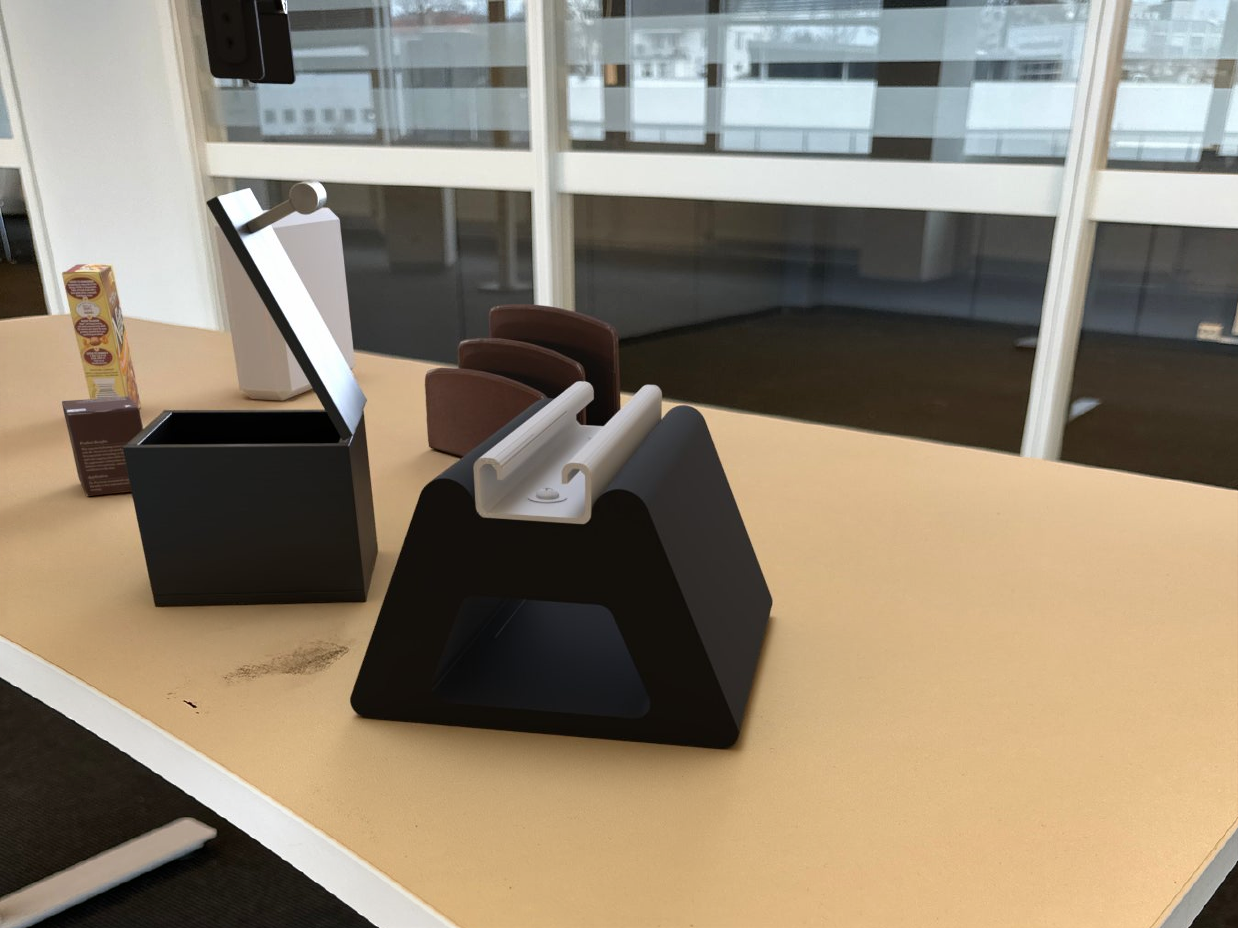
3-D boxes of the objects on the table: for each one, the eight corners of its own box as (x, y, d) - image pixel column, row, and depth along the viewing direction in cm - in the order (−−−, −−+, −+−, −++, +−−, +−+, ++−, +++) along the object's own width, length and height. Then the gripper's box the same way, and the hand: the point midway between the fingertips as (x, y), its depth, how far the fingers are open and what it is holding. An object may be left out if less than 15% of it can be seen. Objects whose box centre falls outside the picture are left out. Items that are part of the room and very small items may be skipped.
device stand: (771, 615, 87) (787, 391, 79) (737, 750, 68) (753, 473, 60) (466, 593, 90) (451, 374, 82) (352, 716, 71) (318, 447, 63)
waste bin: (154, 606, 86) (122, 447, 80) (190, 553, 97) (163, 409, 91) (366, 601, 88) (348, 445, 82) (378, 550, 98) (363, 408, 93)
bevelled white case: (304, 371, 168) (283, 205, 158) (359, 374, 167) (341, 207, 156) (228, 398, 151) (199, 214, 140) (289, 402, 149) (264, 216, 139)
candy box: (132, 421, 138) (102, 270, 130) (92, 422, 137) (60, 270, 129) (142, 406, 146) (114, 262, 138) (104, 407, 145) (74, 262, 137)
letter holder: (501, 436, 136) (494, 295, 128) (623, 468, 124) (624, 316, 116) (426, 449, 129) (415, 302, 122) (548, 484, 118) (543, 324, 110)
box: (147, 476, 117) (131, 395, 113) (156, 491, 113) (140, 407, 109) (78, 482, 115) (60, 399, 111) (85, 497, 110) (66, 412, 106)
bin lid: (205, 201, 74) (288, 156, 73) (239, 192, 84) (312, 152, 84) (342, 441, 82) (419, 402, 81) (358, 404, 93) (426, 370, 92)
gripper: (186, -237, 78) (229, 83, 87) (95, -322, 63) (158, 74, 72) (305, -232, 78) (336, 86, 87) (242, -314, 64) (287, 78, 73)
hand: (256, 80), depth 80 cm, fingers open, 9 cm apart
